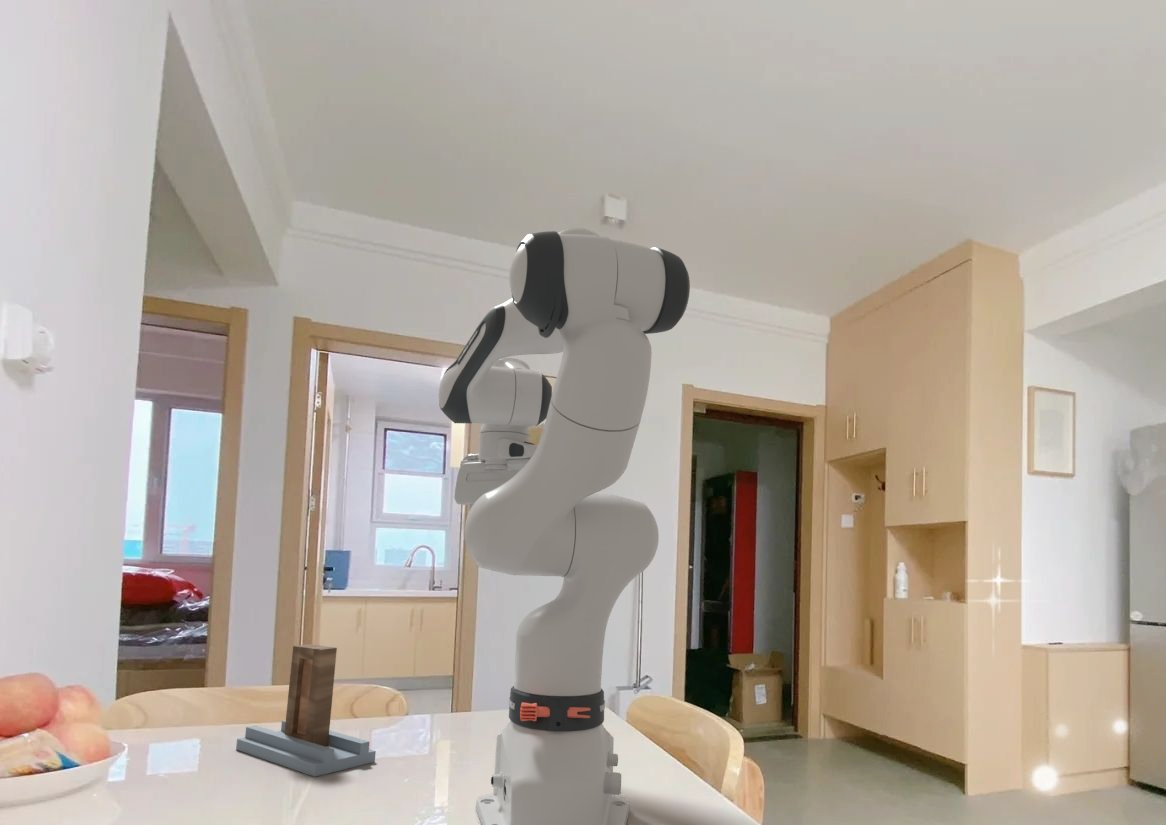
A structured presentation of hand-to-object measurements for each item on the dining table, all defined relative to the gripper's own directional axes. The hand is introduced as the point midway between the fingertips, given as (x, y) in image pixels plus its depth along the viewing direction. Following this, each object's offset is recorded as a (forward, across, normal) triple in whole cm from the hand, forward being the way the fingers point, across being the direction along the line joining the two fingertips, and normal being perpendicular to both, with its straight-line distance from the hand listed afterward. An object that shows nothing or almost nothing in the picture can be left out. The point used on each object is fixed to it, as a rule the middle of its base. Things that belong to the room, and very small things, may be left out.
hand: (499, 531), depth 129 cm
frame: (+33, -13, -25) cm, 43 cm away
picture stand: (+34, -13, -25) cm, 44 cm away
